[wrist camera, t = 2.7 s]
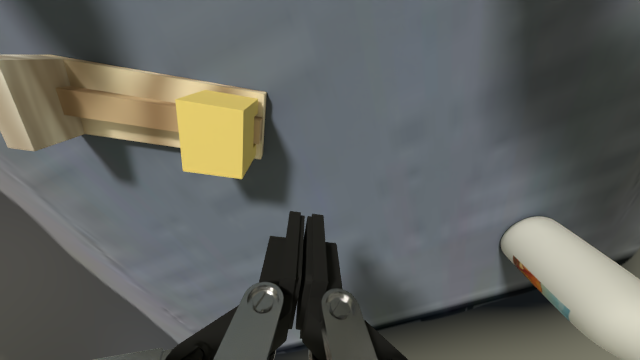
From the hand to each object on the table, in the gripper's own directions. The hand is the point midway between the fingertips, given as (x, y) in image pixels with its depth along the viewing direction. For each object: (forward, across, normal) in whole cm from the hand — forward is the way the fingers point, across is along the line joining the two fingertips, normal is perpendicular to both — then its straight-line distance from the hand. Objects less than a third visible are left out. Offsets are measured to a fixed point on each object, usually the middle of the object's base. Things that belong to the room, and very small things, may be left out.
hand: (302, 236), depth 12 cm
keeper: (+15, +8, -1) cm, 17 cm away
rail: (+16, +15, -1) cm, 22 cm away
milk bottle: (+17, -33, +9) cm, 38 cm away
